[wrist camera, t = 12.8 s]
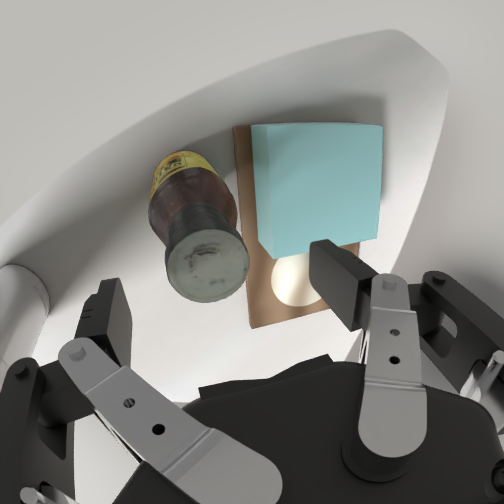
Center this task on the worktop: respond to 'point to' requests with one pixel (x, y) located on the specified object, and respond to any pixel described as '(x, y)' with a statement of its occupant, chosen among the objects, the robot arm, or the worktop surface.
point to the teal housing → (316, 184)
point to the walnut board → (262, 264)
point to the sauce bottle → (197, 228)
